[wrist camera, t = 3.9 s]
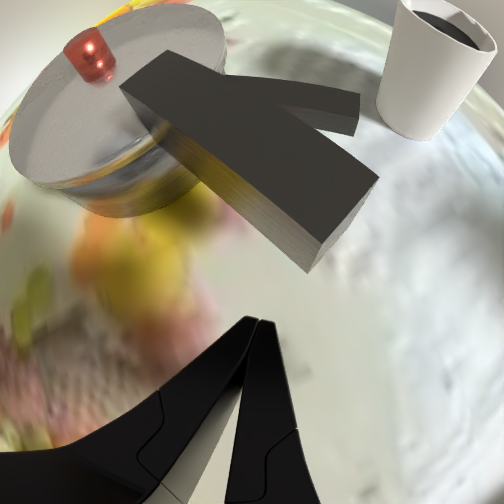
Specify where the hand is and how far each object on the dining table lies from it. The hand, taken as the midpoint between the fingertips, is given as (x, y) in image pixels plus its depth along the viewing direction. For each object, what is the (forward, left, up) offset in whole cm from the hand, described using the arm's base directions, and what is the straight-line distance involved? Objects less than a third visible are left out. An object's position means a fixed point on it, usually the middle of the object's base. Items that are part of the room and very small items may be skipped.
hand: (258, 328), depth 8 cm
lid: (+5, +12, -2) cm, 13 cm away
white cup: (+19, 0, -9) cm, 21 cm away
